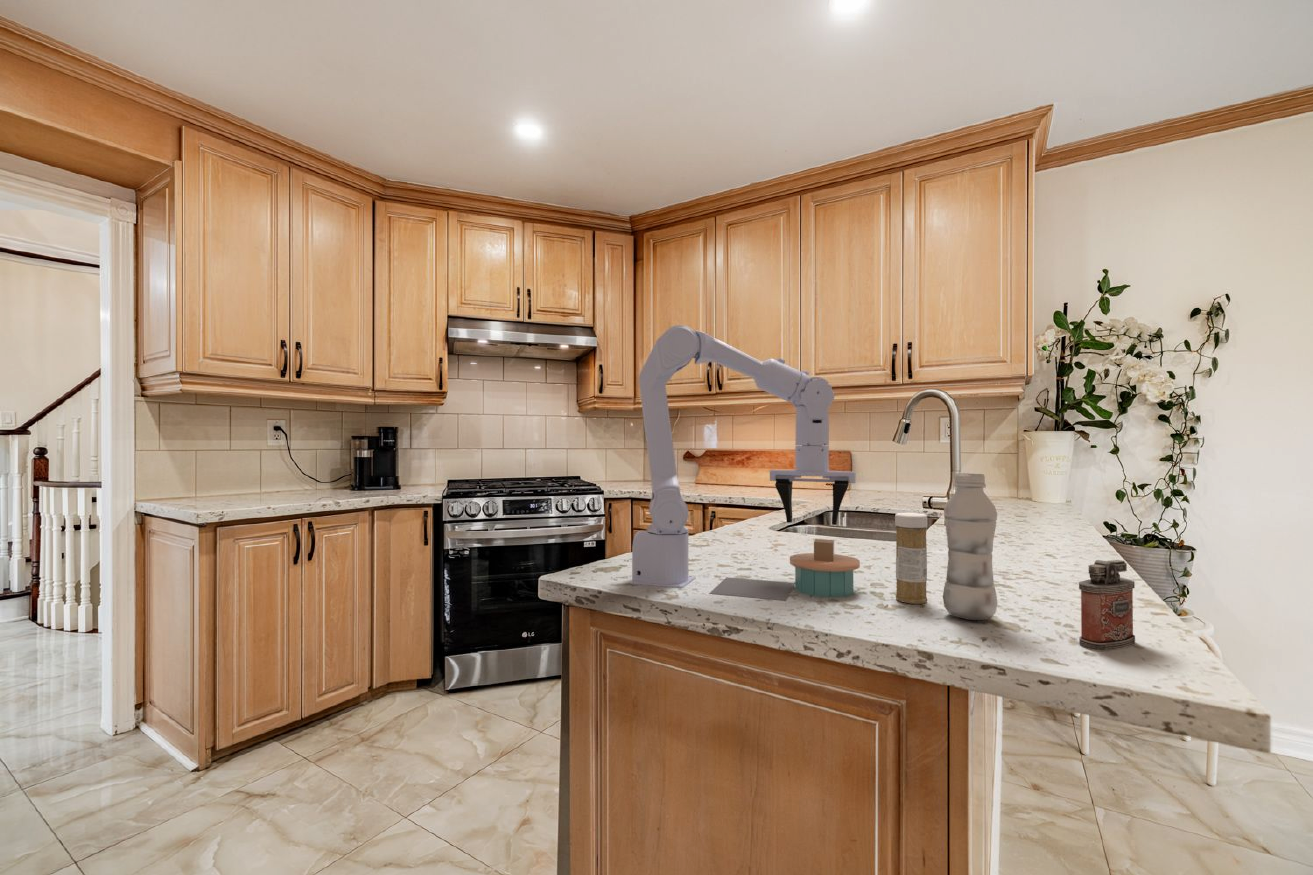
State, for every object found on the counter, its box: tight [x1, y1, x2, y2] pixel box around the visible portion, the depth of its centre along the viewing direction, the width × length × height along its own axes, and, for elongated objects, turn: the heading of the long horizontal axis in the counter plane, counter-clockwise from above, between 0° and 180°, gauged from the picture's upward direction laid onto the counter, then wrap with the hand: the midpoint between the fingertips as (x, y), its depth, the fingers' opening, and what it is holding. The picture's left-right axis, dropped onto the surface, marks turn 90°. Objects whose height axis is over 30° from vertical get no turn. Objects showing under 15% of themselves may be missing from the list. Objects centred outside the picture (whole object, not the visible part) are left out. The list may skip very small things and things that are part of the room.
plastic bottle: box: [942, 472, 998, 621], centre depth 81 cm, size 6×7×20 cm
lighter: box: [1078, 559, 1136, 652], centre depth 70 cm, size 8×3×10 cm, turn 114°
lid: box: [789, 538, 861, 572], centre depth 95 cm, size 11×11×4 cm
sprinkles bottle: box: [894, 512, 928, 605], centre depth 90 cm, size 5×5×14 cm
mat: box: [708, 576, 795, 602], centre depth 96 cm, size 12×12×1 cm
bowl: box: [794, 566, 854, 598], centre depth 95 cm, size 9×9×4 cm
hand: (811, 523), depth 102 cm, fingers open, 7 cm apart
